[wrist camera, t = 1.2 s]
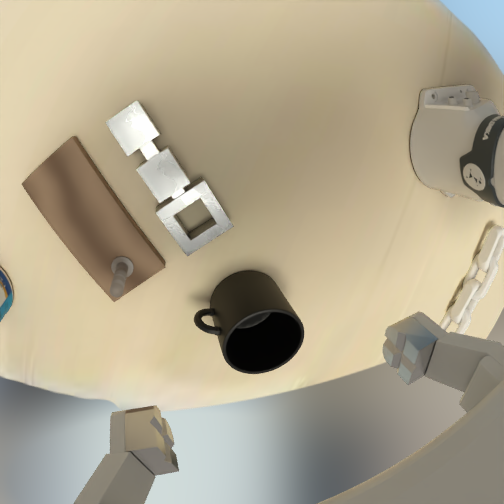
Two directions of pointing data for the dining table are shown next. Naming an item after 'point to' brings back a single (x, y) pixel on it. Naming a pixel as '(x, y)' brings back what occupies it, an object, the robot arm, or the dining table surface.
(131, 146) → the hasp latch
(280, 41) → the dining table surface
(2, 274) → the beverage bottle
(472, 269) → the chain
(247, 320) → the mug
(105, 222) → the brown board with peg
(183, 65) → the dining table surface
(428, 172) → the robot arm
